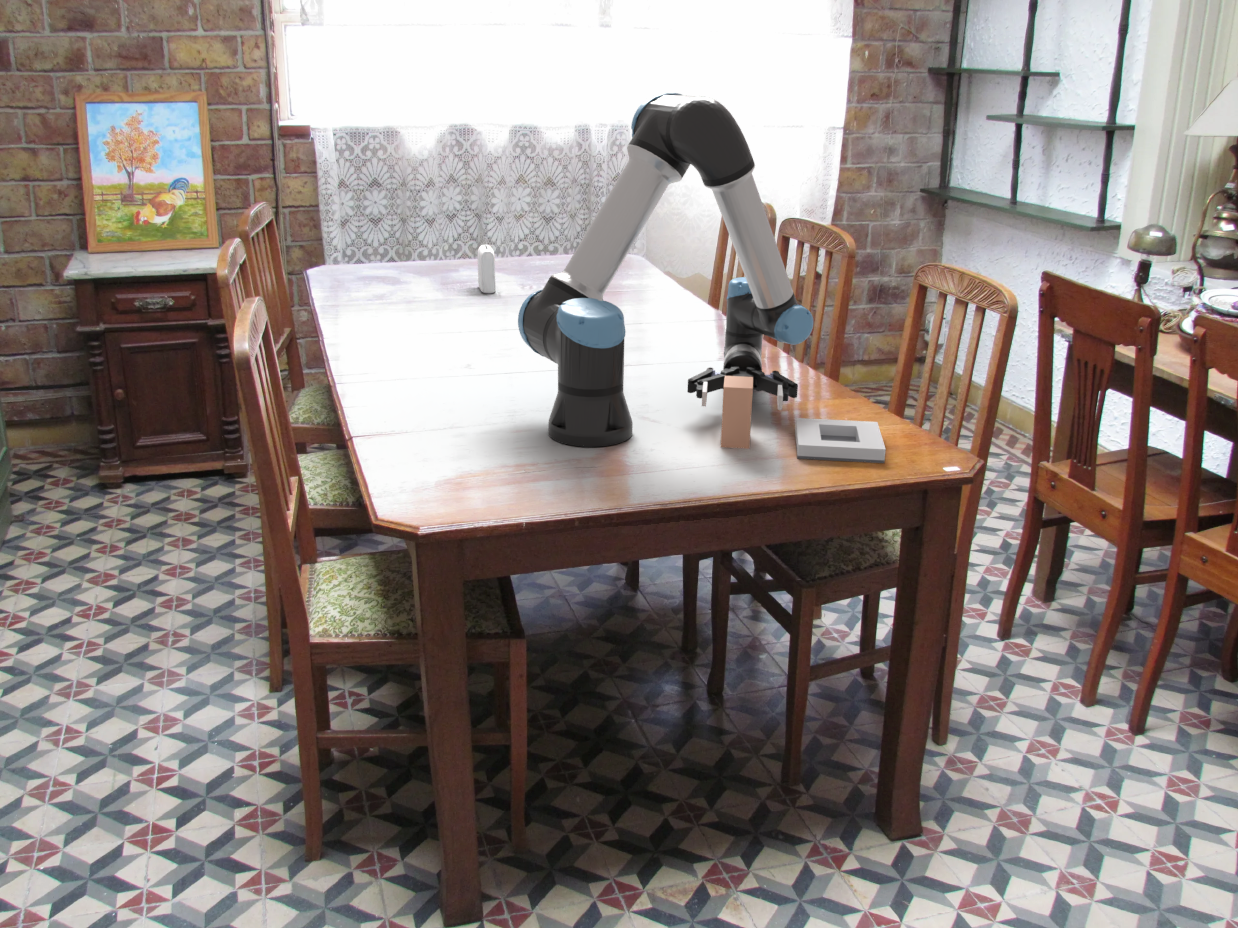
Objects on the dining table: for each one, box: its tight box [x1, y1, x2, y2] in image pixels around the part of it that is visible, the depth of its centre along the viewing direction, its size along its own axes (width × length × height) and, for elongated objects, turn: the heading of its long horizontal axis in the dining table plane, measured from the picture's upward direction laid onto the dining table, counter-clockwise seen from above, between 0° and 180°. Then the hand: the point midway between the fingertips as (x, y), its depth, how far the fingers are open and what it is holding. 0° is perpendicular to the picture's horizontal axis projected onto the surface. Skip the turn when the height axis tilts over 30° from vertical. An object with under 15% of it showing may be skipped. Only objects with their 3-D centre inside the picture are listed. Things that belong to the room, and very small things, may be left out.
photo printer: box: [476, 244, 496, 294], centre depth 314 cm, size 10×4×12 cm, turn 13°
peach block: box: [720, 376, 754, 450], centre depth 200 cm, size 5×7×11 cm
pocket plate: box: [794, 417, 887, 464], centre depth 200 cm, size 15×15×2 cm
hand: (742, 401), depth 204 cm, fingers open, 13 cm apart
